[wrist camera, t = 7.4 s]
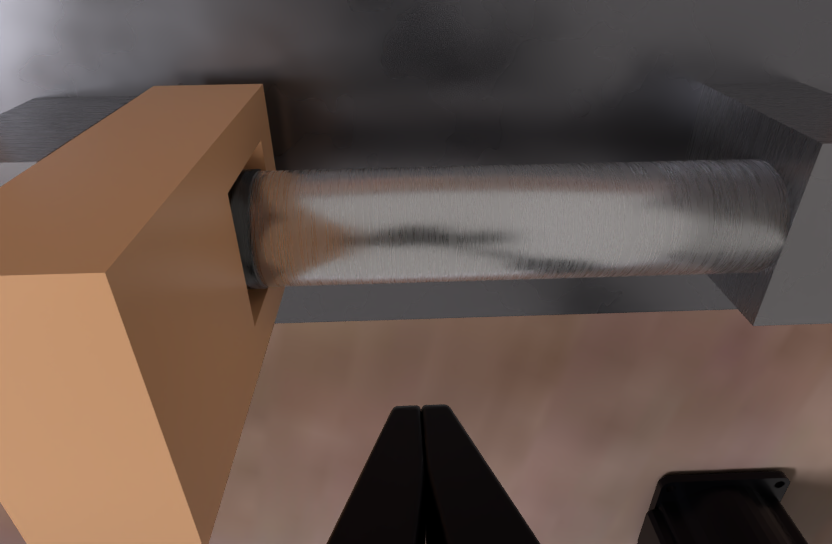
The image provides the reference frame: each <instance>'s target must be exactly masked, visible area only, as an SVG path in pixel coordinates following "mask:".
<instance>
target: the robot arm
mask: <svg viewBox="0 0 832 544" xmlns="http://www.w3.org/2000/svg"><path fill="white" fill-rule="evenodd" d="M789 484H790V481H789V479H788V478H787V476H786V475H785V474H784V473H783V472H780V471H773V472H747V473H721V474H695V475H670V476H665V477H663V478H661V479H660V480H659V481H658V483H657V486H656V489H655V492H654V495H653V498H652V501H651V504H650V507H649V510H648V512H647V514H646V517H645V520H644V523H643V526H642V529H641V532H640V535H639V538H638V543H637V544H808V543H807V541H806V540H805V539H804V537H803V536H802V534H801V533H800V531H799V530H798V528H797V527H796V525H795V524H794V522H793V521H792V519H791V518H790V516H789V515H788V513H787V512H786V510H785V509H784V507H783V506H782V505H781V503H780V501H781V499H782V497H783V495H784V494H785V492H786V490H787V488H788V486H789ZM425 538H426V544H540V543H539V541H538V540H537V538H536V537H535V535H534V534H533V532H532V531H531V529H530V528H529V526H528V524H527V523H526V521H525V520H524V518H523V517H522V515H521V514H520V512H519V511H518V509H517V508H516V506H515V505H514V503H513V502H512V500H511V499H510V497H509V496H508V494H507V493H506V491H505V490H504V488H503V487H502V485H501V484H500V482H499V481H498V479H497V478H496V476H495V475H494V473H493V472H492V470H491V469H490V467H489V466H488V464H487V463H486V461H485V460H484V458H483V457H482V455H481V453H480V452H479V450H478V449H477V447H476V446H475V444H474V443H473V441H472V440H471V438H470V437H469V435H468V434H467V432H466V431H465V429H464V428H463V426H462V425H461V423H460V422H459V420H458V419H457V417H456V416H455V414H454V413H453V411H452V410H451V408H450V407H449V406H447V405H424V406H423V407H422V409H420V407H419V406H396V407H394V408H393V409H392V411H391V413H390V415H389V417H388V419H387V421H386V423H385V425H384V427H383V429H382V431H381V433H380V435H379V437H378V439H377V441H376V443H375V446H374V448H373V450H372V452H371V454H370V456H369V458H368V460H367V462H366V464H365V466H364V468H363V470H362V472H361V474H360V476H359V478H358V480H357V482H356V484H355V487H354V489H353V491H352V493H351V495H350V497H349V499H348V501H347V503H346V505H345V507H344V509H343V511H342V513H341V515H340V517H339V519H338V521H337V523H336V525H335V528H334V530H333V532H332V534H331V536H330V538H329V540H328V542H327V544H425Z"/></svg>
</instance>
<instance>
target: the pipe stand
mask: <svg viewBox="0 0 832 544" xmlns="http://www.w3.org/2000/svg"><path fill="white" fill-rule="evenodd" d="M226 84H263V88H264V95H265V101H266V108H267V114H268V121H269V128H270V134H271V141H272V147H273V154H274V161H275V167H276V170H275V171H262V170H261V169H243V170H242V171H241V173H240V174H239V176H238V178H237V179H236V181H235V182H234V184H233V186H232V187H231V189H230V190H229V192H228V198H229V203H230V208H231V213H232V218H233V223H234V227H235V232H236V237H237V242H238V247H239V252H240V257H241V262H242V267H243V272H244V276H245V281H246V286H247V289H266V288H268V287H279V286H285V289H284V293H283V296H282V299H281V303H280V306H279V309H278V313H277V316H276V319H275V323H301V322H334V321H367V320H399V319H432V318H464V317H497V316H529V315H562V314H594V313H627V312H659V311H692V310H724V309H738V310H739V311H740V312H741V313H742V314H743V315H744V316H745V318H746V319H747V320H748V321H749V322H750V323H751V324H752V325H753V326H762V325H794V324H826V323H832V0H0V187H1V186H2V185H4V184H5V183H7V182H9V181H10V180H12V179H13V178H15V177H16V176H18V175H19V174H21V173H22V172H24V171H25V170H27V169H28V168H30V167H31V166H33V165H34V164H36V163H37V162H39V161H40V160H42V159H43V158H45V157H46V156H48V155H50V154H51V153H53V152H54V151H56V150H57V149H59V148H60V147H62V146H63V145H65V144H66V143H68V142H69V141H71V140H72V139H74V138H75V137H77V136H78V135H80V134H81V133H83V132H84V131H86V130H88V129H89V128H91V127H92V126H94V125H95V124H97V123H98V122H100V121H101V120H103V119H104V118H106V117H107V116H109V115H110V114H112V113H113V112H115V111H116V110H118V109H119V108H121V107H122V106H124V105H126V104H127V103H129V102H130V101H132V100H133V99H135V98H136V97H138V96H139V95H141V94H142V93H144V92H145V91H147V90H148V89H150V88H151V87H153V86H176V85H226Z"/></svg>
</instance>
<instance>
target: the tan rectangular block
mask: <svg viewBox="0 0 832 544" xmlns="http://www.w3.org/2000/svg"><path fill="white" fill-rule="evenodd" d="M243 169H261V170H262V171H275V170H276V167H275V161H274V154H273V147H272V141H271V134H270V128H269V121H268V114H267V108H266V101H265V95H264V88H263V84H226V85H176V86H153V87H151V88H150V89H148V90H147V91H145V92H144V93H142V94H141V95H139V96H138V97H136V98H135V99H133V100H132V101H130V102H129V103H127V104H126V105H124V106H122V107H121V108H119V109H118V110H116V111H115V112H113V113H112V114H110V115H109V116H107V117H106V118H104V119H103V120H101V121H100V122H98V123H97V124H95V125H94V126H92V127H91V128H89V129H88V130H86V131H84V132H83V133H81V134H80V135H78V136H77V137H75V138H74V139H72V140H71V141H69V142H68V143H66V144H65V145H63V146H62V147H60V148H59V149H57V150H56V151H54V152H53V153H51V154H50V155H48V156H46V157H45V158H43V159H42V160H40V161H39V162H37V163H36V164H34V165H33V166H31V167H30V168H28V169H27V170H25V171H24V172H22V173H21V174H19V175H18V176H16V177H15V178H13V179H12V180H10V181H9V182H7V183H5V184H4V185H2V186H1V187H0V502H1V504H2V505H3V507H4V508H5V510H6V512H7V513H8V515H9V516H10V518H11V519H12V521H13V523H14V524H15V526H16V527H17V529H18V530H19V532H20V534H21V535H22V537H23V538H24V540H25V541H26V543H27V544H208V543H209V540H210V537H211V533H212V530H213V527H214V523H215V520H216V517H217V513H218V510H219V507H220V503H221V500H222V497H223V493H224V490H225V487H226V483H227V480H228V477H229V473H230V470H231V467H232V463H233V460H234V456H235V453H236V450H237V446H238V443H239V440H240V436H241V433H242V430H243V426H244V423H245V420H246V416H247V413H248V410H249V406H250V403H251V400H252V396H253V393H254V390H255V386H256V383H257V380H258V376H259V373H260V369H261V366H262V363H263V359H264V356H265V353H266V349H267V346H268V343H269V339H270V336H271V333H272V329H273V326H274V323H275V319H276V316H277V313H278V309H279V306H280V303H281V299H282V296H283V293H284V289H285V286H279V287H268V288H266V289H247V286H246V281H245V276H244V272H243V267H242V262H241V257H240V252H239V247H238V242H237V237H236V232H235V227H234V223H233V218H232V213H231V208H230V203H229V198H228V192H229V190H230V189H231V187H232V186H233V184H234V182H235V181H236V179H237V178H238V176H239V174H240V173H241V171H242V170H243Z"/></svg>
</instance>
